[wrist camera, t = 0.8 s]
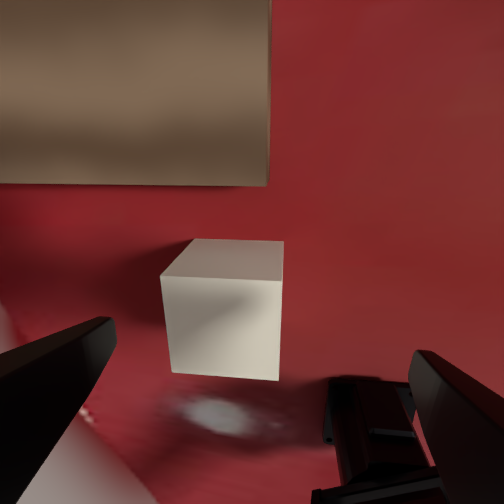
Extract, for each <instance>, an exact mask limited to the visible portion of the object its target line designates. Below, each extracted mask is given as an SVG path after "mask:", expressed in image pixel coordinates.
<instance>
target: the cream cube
mask: <svg viewBox="0 0 504 504" xmlns="http://www.w3.org/2000/svg"><path fill="white" fill-rule="evenodd" d="M283 248H284V241H255V240H224V239H194V240H193V241H192V242H191V243H190V244H189V245H188V246H187V247H186V248H185V249H184V251H183V252H182V253H181V254H180V255H179V256H178V257H177V258H176V259H175V260H174V261H173V262H172V263H171V264H170V265H169V267H168V268H167V269H166V270H165V271H164V272H163V273H162V274H161V275H160V281H161V289H162V297H163V305H164V313H165V321H166V329H167V337H168V345H169V353H170V361H171V369H172V372H175V373H188V374H200V375H212V376H225V377H237V378H249V379H262V380H274V381H279V357H280V333H281V306H282V277H283Z"/></svg>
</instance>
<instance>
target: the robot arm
mask: <svg viewBox="0 0 504 504" xmlns="http://www.w3.org/2000/svg"><path fill="white" fill-rule="evenodd" d="M116 344H117V336H116V329H115V322H114V319H113V318H111V317H103V316H99V317H96V318H93V319H91V320H88V321H86V322H83V323H80V324H78V325H75V326H72V327H70V328H67V329H65V330H62V331H59V332H57V333H54V334H51V335H49V336H46V337H44V338H41V339H38V340H36V341H33V342H30V343H28V344H25V345H23V346H20V347H17V348H15V349H12V350H10V351H7V352H4V353H2V354H0V504H16V503H17V501H18V500H19V498H20V497H21V495H22V494H23V492H24V491H25V489H26V488H27V486H28V485H29V484H30V482H31V480H32V479H33V478H34V476H35V474H36V473H37V472H38V470H39V469H40V467H41V466H42V464H43V463H44V461H45V460H46V458H47V457H48V455H49V454H50V452H51V451H52V449H53V448H54V446H55V445H56V443H57V442H58V440H59V439H60V438H61V436H62V435H63V433H64V432H65V430H66V429H67V427H68V426H69V424H70V422H71V421H72V420H73V418H74V417H75V415H76V414H77V412H78V411H79V409H80V408H81V406H82V405H83V403H84V402H85V401H86V399H87V397H88V396H89V394H90V393H91V391H92V389H93V388H94V386H95V384H96V383H97V381H98V379H99V377H100V375H101V373H102V371H103V370H104V368H105V366H106V364H107V362H108V360H109V359H110V357H111V355H112V353H113V351H114V349H115V347H116ZM408 380H409V384H399V383H387V382H374V381H361V380H348V379H336V378H335V379H331V380H330V381H329V382H328V388H327V398H326V407H325V416H324V425H323V441H324V443H326V444H331V445H335V450H336V456H337V463H338V469H339V476H340V483H341V486H338V487H333V488H329V489H324V490H321V489H316V490H312V496H311V504H504V398H503V397H501V396H500V395H498V394H496V393H495V392H493V391H492V390H490V389H489V388H487V387H486V386H484V385H483V384H481V383H480V382H478V381H477V380H475V379H474V378H472V377H471V376H469V375H468V374H466V373H464V372H463V371H461V370H460V369H458V368H457V367H455V366H454V365H452V364H451V363H449V362H448V361H446V360H445V359H443V358H442V357H440V356H439V355H437V354H436V353H434V352H432V351H427V350H416V351H415V352H414V354H413V357H412V361H411V365H410V369H409V373H408ZM334 385H337V386H334ZM416 409H417V413H418V417H419V420H420V424H421V427H422V430H423V434H424V437H425V439H426V442H427V445H428V447H429V450H430V452H431V455H432V457H433V460H434V462H435V465H436V466H432V467H431V466H430V463H429V461H428V459H427V457H426V454H425V452H424V450H423V447H422V445H421V443H420V440H419V438H418V436H417V433H416V431H415V429H414V427H413V424H412V423H413V419H414V415H415V411H416Z"/></svg>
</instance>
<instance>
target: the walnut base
mask: <svg viewBox="0 0 504 504" xmlns="http://www.w3.org/2000/svg"><path fill="white" fill-rule="evenodd" d="M271 39H272V0H0V183H28V184H112V185H196V186H266V185H267V183H268V181H269V171H270V105H271Z"/></svg>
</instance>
